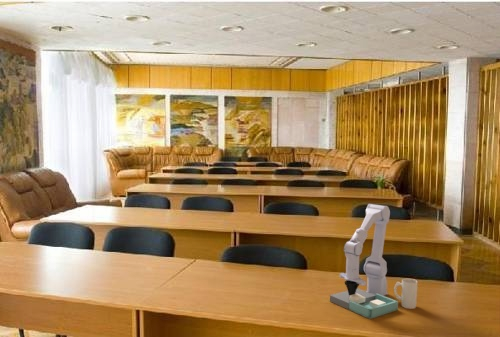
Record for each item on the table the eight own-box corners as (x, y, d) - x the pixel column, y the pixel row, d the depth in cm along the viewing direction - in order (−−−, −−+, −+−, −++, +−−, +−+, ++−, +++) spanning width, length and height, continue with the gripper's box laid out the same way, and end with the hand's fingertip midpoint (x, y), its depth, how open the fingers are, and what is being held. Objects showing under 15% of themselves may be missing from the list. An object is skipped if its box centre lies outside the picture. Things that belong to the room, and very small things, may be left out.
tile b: (357, 297, 218) (357, 293, 218) (365, 301, 214) (365, 297, 214) (349, 299, 215) (349, 295, 215) (357, 303, 211) (357, 299, 211)
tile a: (385, 302, 213) (385, 306, 213) (377, 299, 217) (377, 303, 217) (378, 304, 210) (378, 309, 210) (369, 301, 214) (369, 305, 215)
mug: (416, 304, 218) (417, 279, 217) (416, 309, 212) (417, 283, 211) (393, 301, 222) (394, 276, 221) (393, 307, 215) (394, 281, 214)
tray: (376, 301, 222) (376, 293, 221) (397, 310, 212) (398, 301, 211) (349, 309, 212) (349, 301, 211) (370, 319, 202) (370, 309, 201)
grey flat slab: (356, 293, 232) (357, 288, 232) (375, 301, 222) (376, 295, 222) (329, 301, 222) (330, 295, 222) (348, 309, 212) (348, 303, 212)
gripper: (334, 265, 220) (334, 293, 221) (358, 273, 208) (357, 303, 209) (345, 262, 224) (345, 290, 225) (369, 270, 212) (368, 300, 213)
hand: (351, 296), depth 218 cm, fingers closed
